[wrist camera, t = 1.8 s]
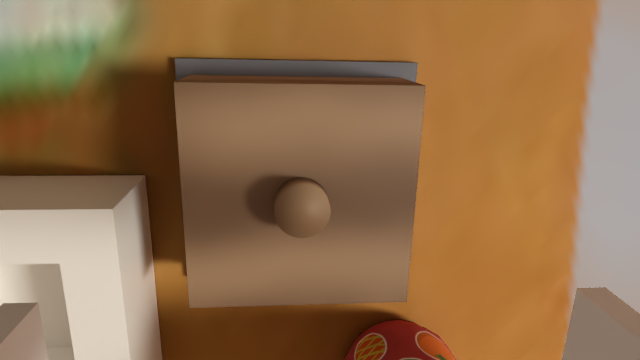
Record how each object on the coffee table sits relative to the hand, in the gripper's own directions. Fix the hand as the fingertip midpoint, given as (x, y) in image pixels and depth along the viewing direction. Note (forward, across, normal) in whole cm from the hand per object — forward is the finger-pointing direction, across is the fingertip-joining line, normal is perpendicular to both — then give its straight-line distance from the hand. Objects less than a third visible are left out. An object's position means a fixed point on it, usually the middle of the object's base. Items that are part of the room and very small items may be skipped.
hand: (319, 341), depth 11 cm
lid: (+14, 0, 0) cm, 14 cm away
